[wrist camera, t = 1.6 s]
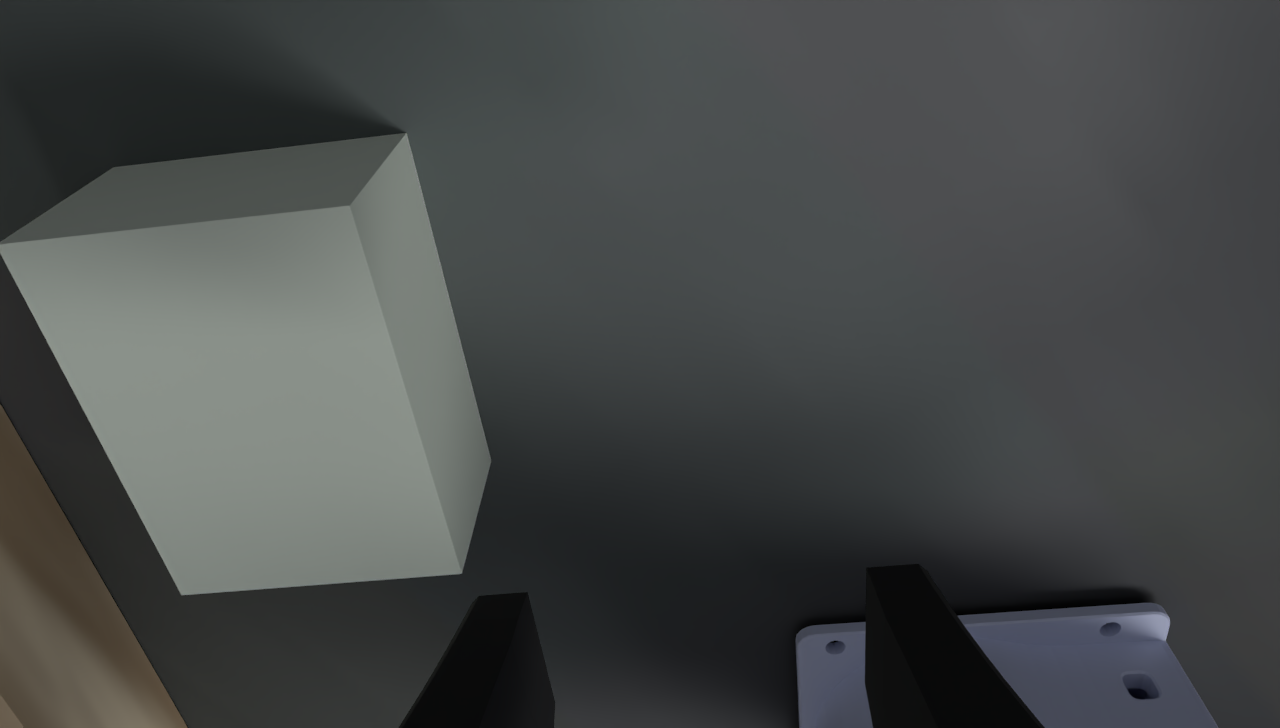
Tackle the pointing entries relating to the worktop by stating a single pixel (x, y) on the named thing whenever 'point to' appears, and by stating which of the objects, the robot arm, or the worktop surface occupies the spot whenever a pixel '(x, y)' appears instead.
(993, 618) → the robot arm
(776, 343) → the worktop surface
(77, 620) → the birch board
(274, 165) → the sage block
